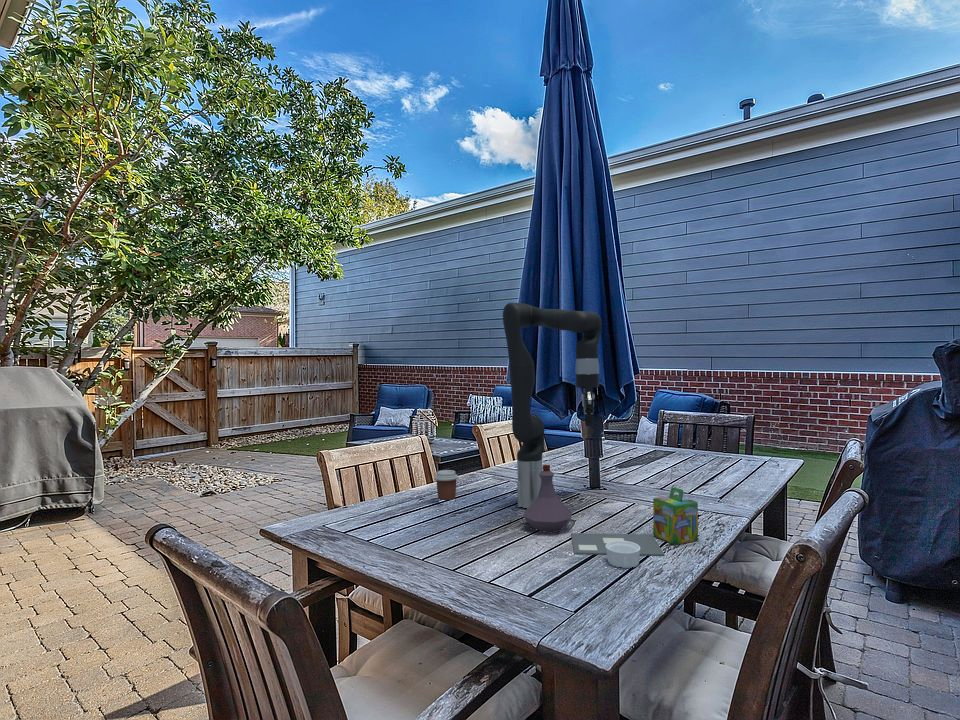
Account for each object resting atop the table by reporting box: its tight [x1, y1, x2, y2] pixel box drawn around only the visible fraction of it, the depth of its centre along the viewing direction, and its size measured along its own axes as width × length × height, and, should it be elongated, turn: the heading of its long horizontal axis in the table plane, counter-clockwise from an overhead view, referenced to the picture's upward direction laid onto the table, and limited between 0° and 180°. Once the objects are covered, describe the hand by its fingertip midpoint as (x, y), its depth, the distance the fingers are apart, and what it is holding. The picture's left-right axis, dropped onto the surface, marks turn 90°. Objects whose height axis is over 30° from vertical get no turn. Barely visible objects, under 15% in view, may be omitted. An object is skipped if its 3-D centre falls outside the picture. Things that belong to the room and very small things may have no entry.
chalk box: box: [652, 486, 699, 546], centre depth 150 cm, size 9×9×15 cm
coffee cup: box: [433, 469, 459, 501], centre depth 194 cm, size 9×9×12 cm
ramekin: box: [605, 541, 640, 569], centre depth 133 cm, size 9×9×4 cm
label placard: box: [570, 532, 666, 557], centre depth 146 cm, size 24×16×1 cm, turn 83°
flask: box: [522, 464, 573, 533], centre depth 162 cm, size 16×16×20 cm
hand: (588, 425), depth 165 cm, fingers closed
